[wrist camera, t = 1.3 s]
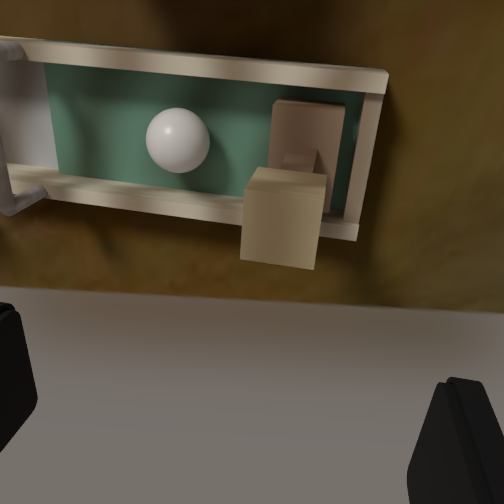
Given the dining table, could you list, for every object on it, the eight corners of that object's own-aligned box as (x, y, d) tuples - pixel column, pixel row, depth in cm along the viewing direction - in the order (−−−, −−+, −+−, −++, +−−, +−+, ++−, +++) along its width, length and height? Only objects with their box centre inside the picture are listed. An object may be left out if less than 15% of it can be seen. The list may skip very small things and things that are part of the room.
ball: (217, 106, 29) (200, 117, 25) (215, 166, 30) (199, 184, 27) (158, 100, 29) (133, 110, 26) (160, 159, 31) (137, 177, 28)
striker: (344, 103, 27) (344, 160, 15) (330, 196, 30) (320, 303, 18) (279, 96, 27) (233, 147, 16) (271, 189, 30) (226, 288, 19)
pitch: (383, 68, 27) (396, 83, 20) (355, 220, 31) (357, 271, 25) (-57, 30, 31) (-166, 32, 24) (-25, 170, 35) (-109, 203, 29)
